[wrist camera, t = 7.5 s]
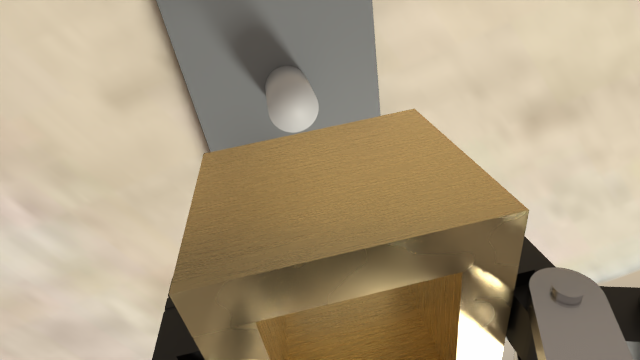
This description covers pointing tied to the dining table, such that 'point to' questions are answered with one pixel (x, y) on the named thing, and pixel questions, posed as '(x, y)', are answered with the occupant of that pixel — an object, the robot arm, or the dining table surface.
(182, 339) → the robot arm
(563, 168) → the dining table surface
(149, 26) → the dining table surface
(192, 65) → the stub plate
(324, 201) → the hollow square frame
